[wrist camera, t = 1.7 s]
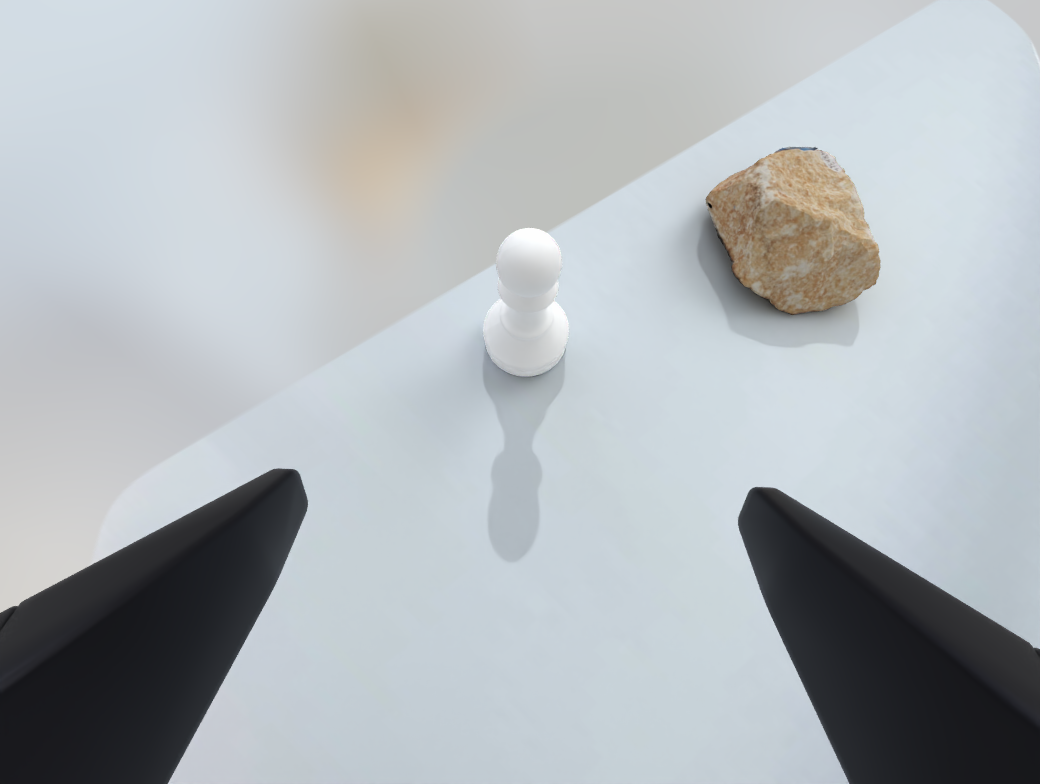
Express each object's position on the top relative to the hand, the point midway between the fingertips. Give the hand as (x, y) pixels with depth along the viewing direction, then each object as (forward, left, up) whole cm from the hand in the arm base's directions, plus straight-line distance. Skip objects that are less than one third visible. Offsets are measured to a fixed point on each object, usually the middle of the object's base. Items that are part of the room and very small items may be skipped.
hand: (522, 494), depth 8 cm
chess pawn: (+10, -2, -14) cm, 17 cm away
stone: (+14, -19, -14) cm, 27 cm away
